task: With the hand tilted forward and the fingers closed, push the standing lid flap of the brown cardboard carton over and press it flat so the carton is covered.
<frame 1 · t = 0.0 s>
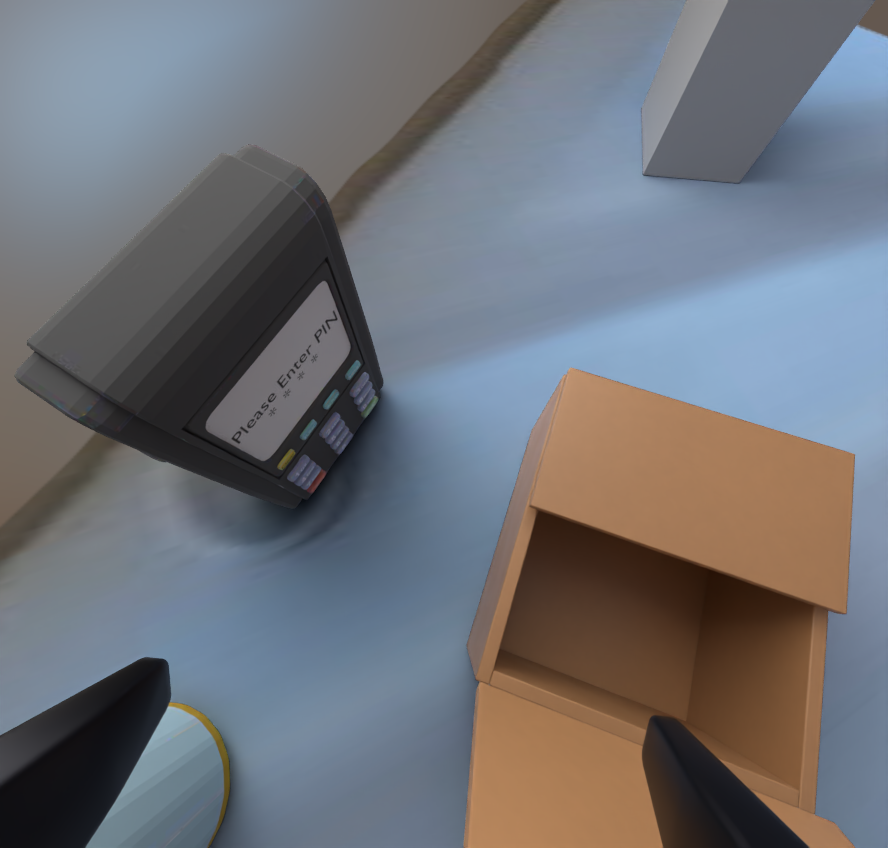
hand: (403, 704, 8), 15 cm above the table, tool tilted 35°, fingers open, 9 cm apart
bottle: (162, 784, 20), on the table
card reader: (323, 437, 26), on the table
perfume bottle: (686, 146, 33), on the table
carton: (602, 565, 23), on the table
lid flap: (687, 844, 11), point 11 cm above the table, hinge at 110.0°
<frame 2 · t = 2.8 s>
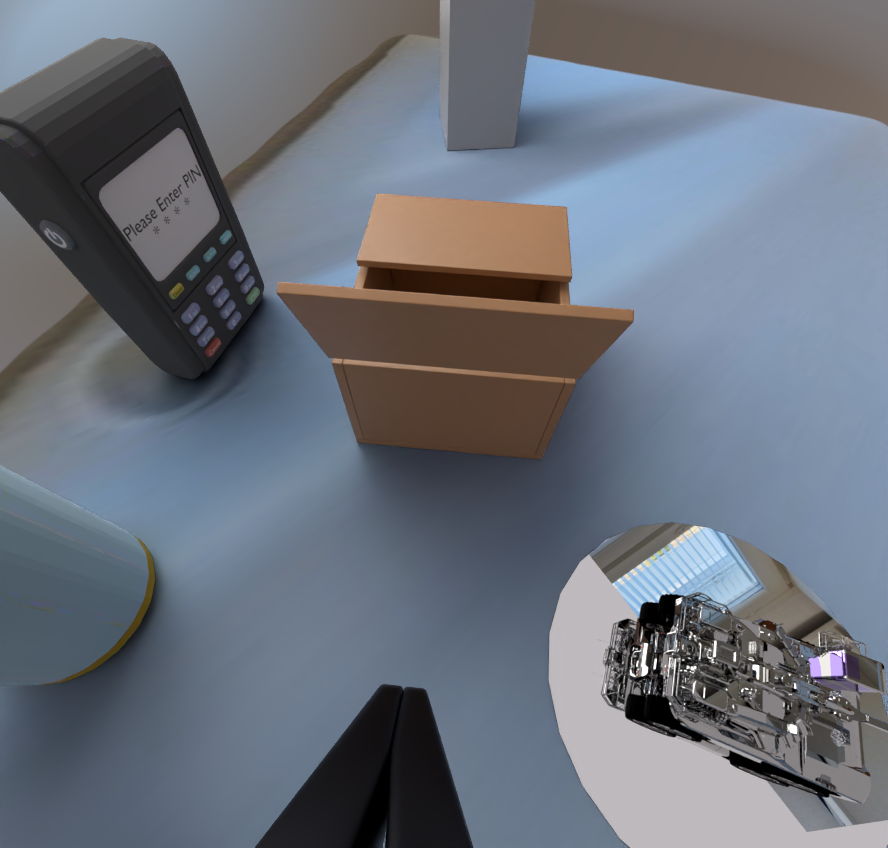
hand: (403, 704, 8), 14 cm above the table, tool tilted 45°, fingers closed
bottle: (89, 602, 22), on the table
card reader: (219, 335, 31), on the table
toy car: (711, 683, 20), on the table
perfume bottle: (475, 133, 46), on the table
carton: (456, 371, 29), on the table
lid flap: (452, 338, 16), point 11 cm above the table, hinge at 110.0°
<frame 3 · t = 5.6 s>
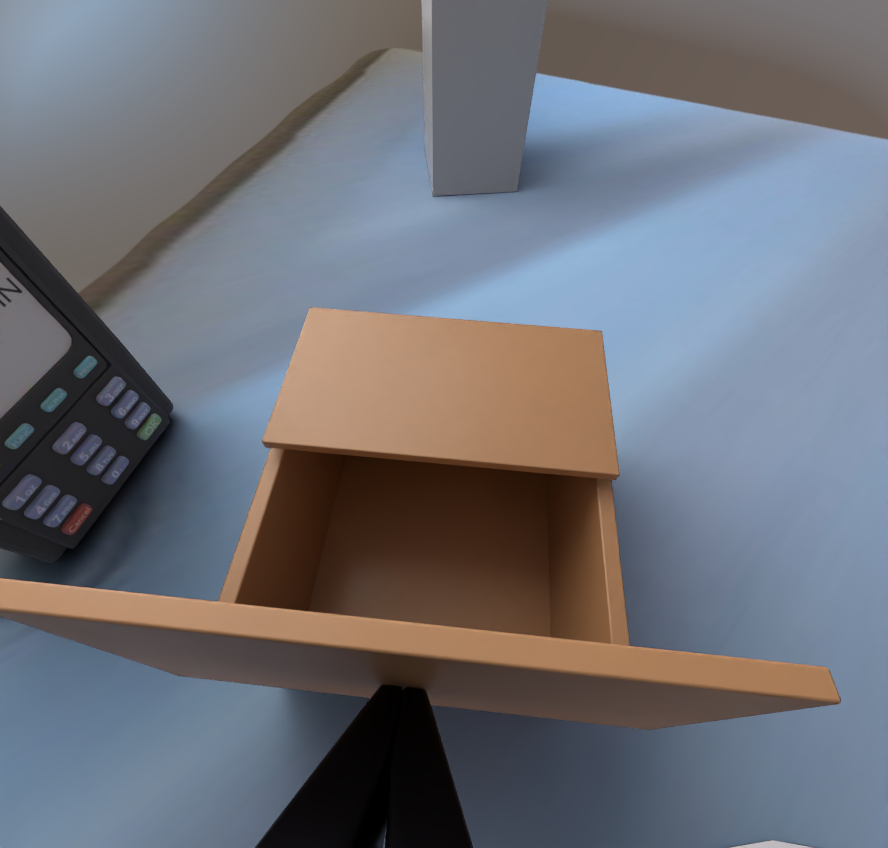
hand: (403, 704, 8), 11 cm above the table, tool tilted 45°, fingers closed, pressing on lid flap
card reader: (105, 478, 22), on the table
perfume bottle: (468, 172, 37), on the table
carton: (437, 542, 20), on the table
lid flap: (405, 672, 8), point 11 cm above the table, hinge at 84.1°, touching gripper
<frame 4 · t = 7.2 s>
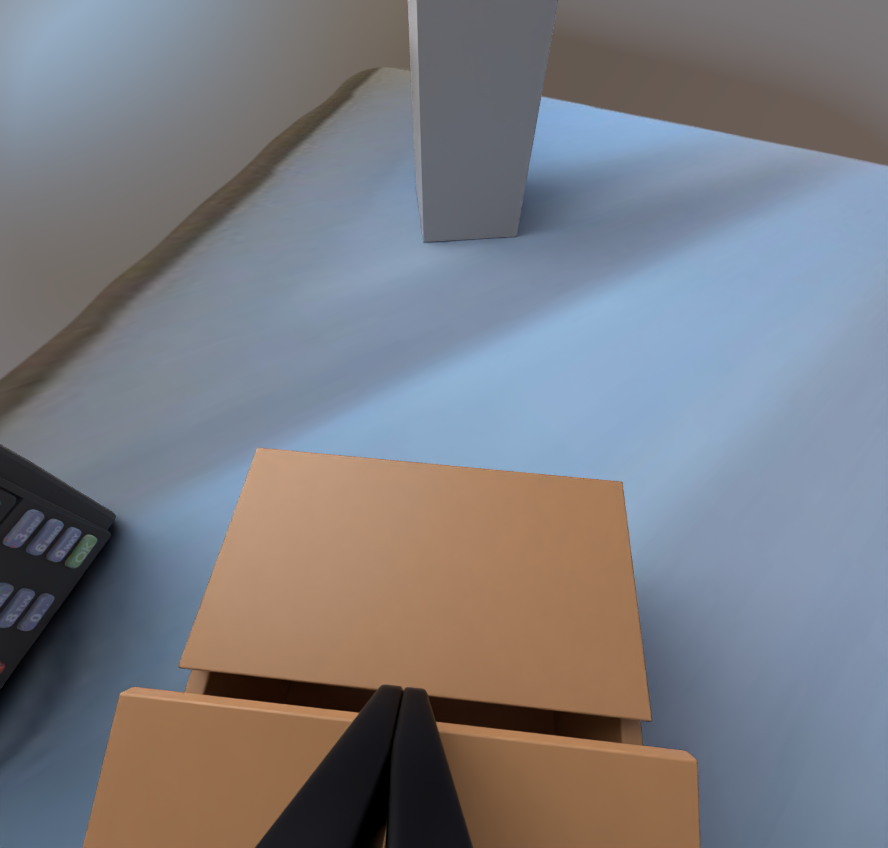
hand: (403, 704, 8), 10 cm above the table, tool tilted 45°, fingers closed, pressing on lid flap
card reader: (32, 607, 19), on the table
perfume bottle: (463, 213, 34), on the table
carton: (420, 695, 17), on the table
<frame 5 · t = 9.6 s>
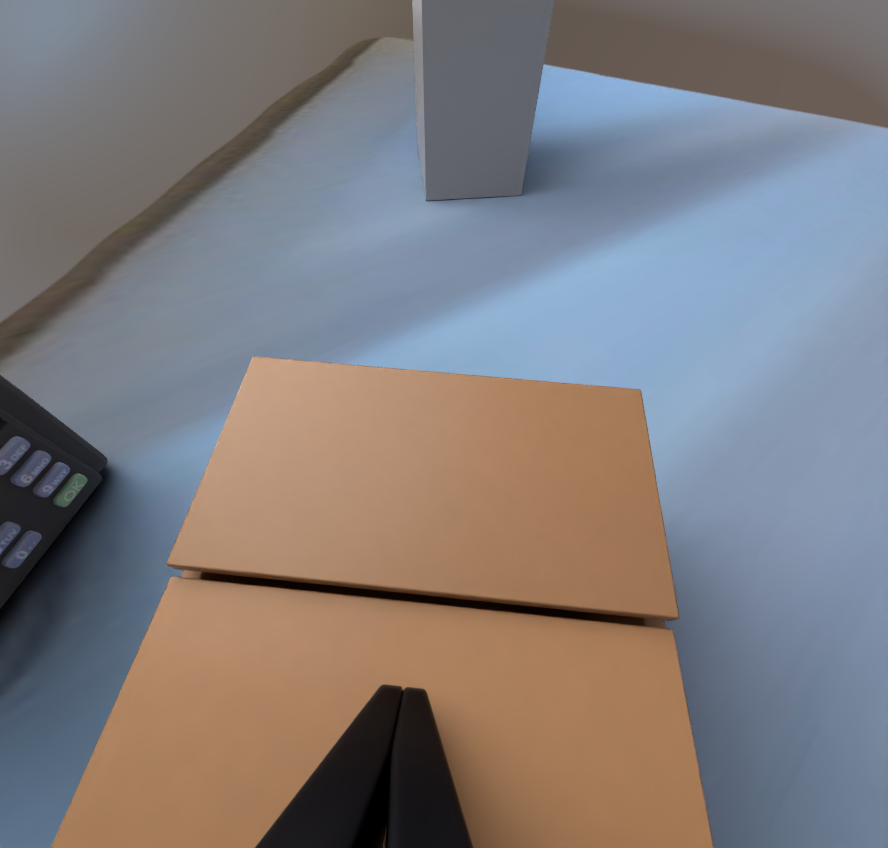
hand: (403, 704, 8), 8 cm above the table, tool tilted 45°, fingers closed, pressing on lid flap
card reader: (19, 551, 18), on the table
perfume bottle: (466, 174, 33), on the table
carton: (425, 637, 16), on the table
lid flap: (395, 773, 8), point 8 cm above the table, hinge at -3.4°, touching gripper
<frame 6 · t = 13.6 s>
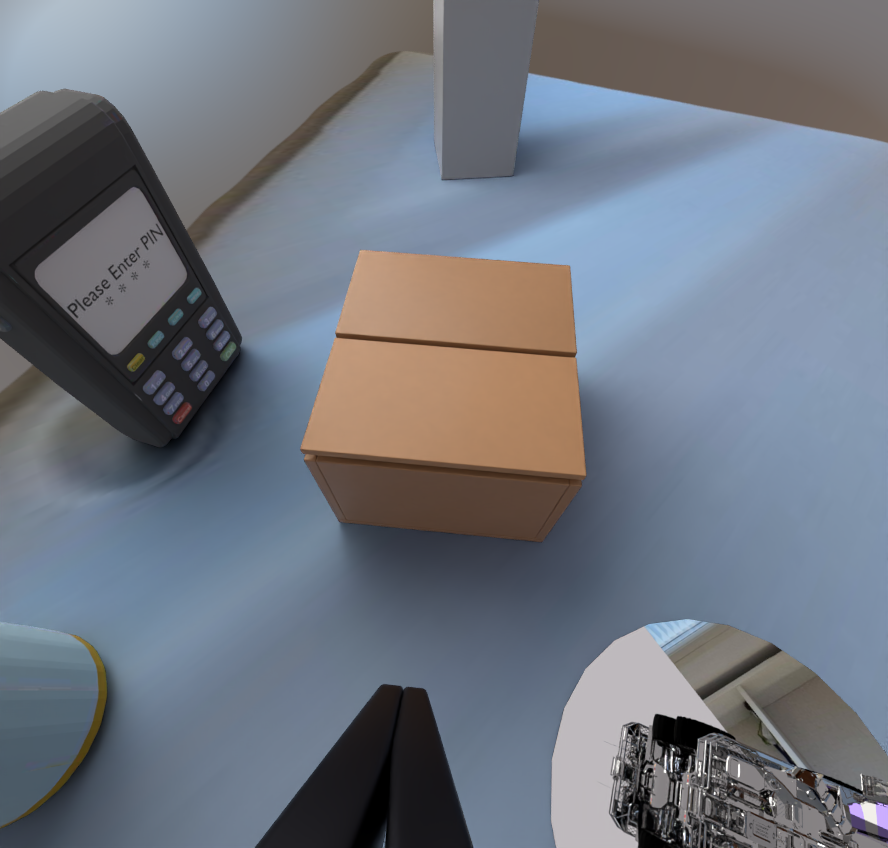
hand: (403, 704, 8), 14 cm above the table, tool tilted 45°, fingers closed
bottle: (32, 721, 19), on the table
card reader: (192, 392, 28), on the table
toy car: (735, 821, 18), on the table
perfume bottle: (472, 160, 43), on the table
carton: (449, 435, 27), on the table
lid flap: (448, 402, 18), point 8 cm above the table, hinge at -1.4°
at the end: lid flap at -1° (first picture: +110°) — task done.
